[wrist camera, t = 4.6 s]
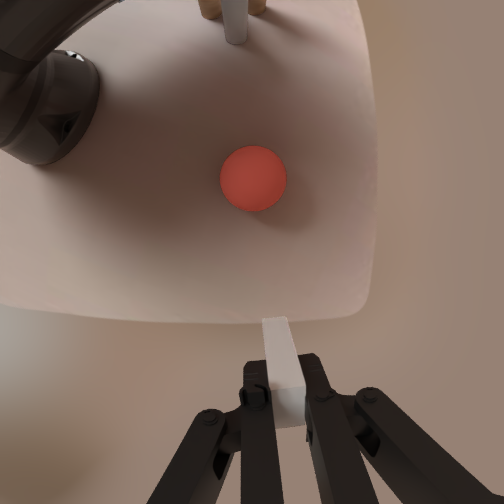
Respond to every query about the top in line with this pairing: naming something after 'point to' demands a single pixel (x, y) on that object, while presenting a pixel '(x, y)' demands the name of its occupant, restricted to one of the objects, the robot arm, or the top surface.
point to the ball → (253, 178)
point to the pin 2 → (256, 7)
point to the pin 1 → (210, 8)
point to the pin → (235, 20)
